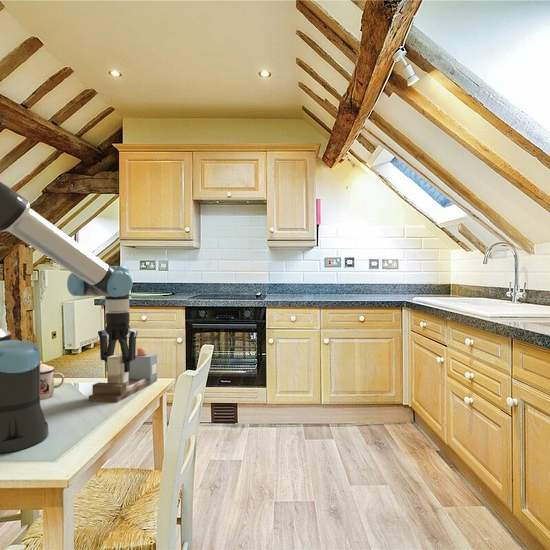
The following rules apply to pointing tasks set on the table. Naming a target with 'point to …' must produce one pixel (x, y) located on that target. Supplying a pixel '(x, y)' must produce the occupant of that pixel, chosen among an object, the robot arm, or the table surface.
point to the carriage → (115, 369)
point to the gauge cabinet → (144, 367)
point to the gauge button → (140, 351)
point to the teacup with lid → (48, 381)
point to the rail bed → (117, 390)
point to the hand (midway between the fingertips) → (118, 381)
